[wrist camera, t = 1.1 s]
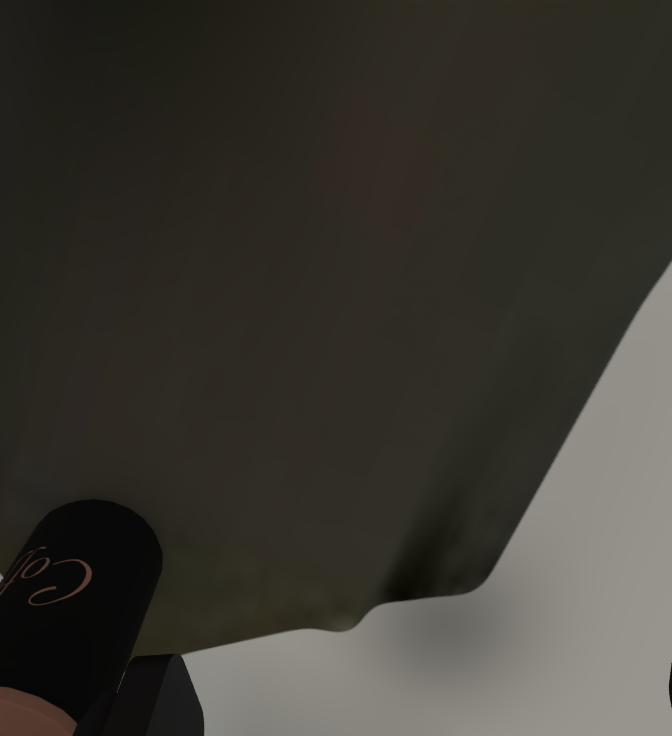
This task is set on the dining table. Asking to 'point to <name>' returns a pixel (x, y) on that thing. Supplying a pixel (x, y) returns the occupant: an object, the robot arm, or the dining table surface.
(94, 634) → the coffee jar
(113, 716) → the robot arm
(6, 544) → the dining table surface
